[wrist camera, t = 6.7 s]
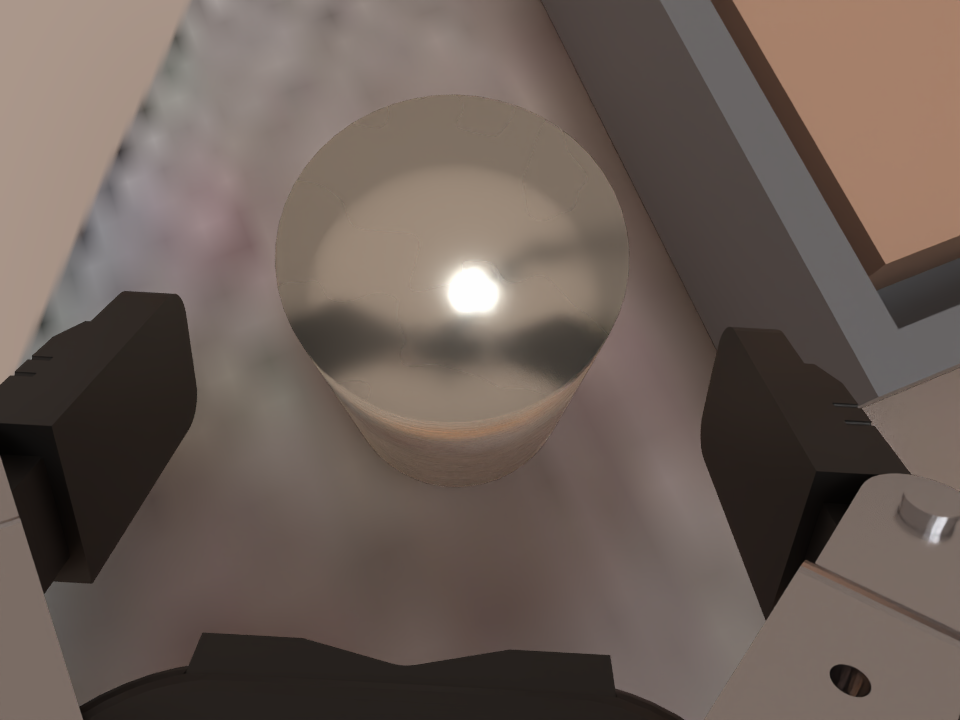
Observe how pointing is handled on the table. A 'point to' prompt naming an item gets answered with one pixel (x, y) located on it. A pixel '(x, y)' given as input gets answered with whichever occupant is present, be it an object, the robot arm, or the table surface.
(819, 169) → the flat box
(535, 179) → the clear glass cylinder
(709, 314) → the tote
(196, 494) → the table surface
